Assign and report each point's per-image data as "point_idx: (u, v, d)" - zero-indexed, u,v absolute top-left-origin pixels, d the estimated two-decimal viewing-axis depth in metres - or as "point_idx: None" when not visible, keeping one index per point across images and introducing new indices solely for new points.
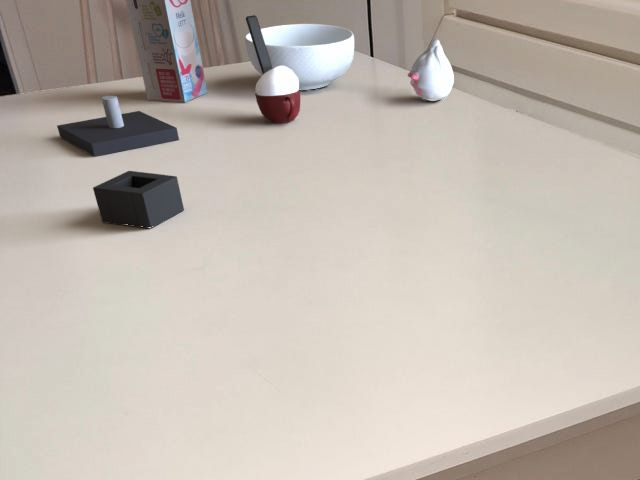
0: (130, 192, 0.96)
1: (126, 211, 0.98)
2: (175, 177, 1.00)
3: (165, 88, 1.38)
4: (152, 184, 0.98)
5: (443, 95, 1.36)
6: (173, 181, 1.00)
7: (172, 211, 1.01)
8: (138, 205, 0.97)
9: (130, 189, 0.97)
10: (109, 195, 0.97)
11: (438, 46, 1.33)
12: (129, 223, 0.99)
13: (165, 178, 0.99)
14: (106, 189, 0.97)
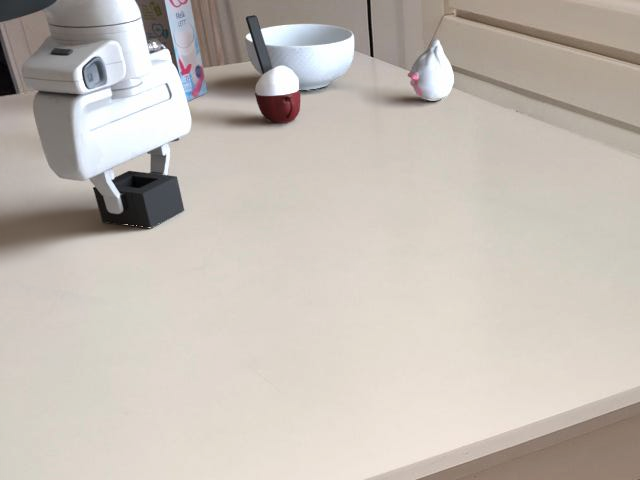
0: (130, 192, 0.96)
1: (127, 211, 0.98)
2: (175, 177, 1.00)
3: None
4: (152, 184, 0.98)
5: (443, 95, 1.36)
6: (173, 181, 1.00)
7: (172, 211, 1.01)
8: (138, 205, 0.97)
9: (130, 189, 0.97)
10: None
11: (438, 46, 1.33)
12: (129, 223, 0.99)
13: (165, 178, 0.99)
14: None
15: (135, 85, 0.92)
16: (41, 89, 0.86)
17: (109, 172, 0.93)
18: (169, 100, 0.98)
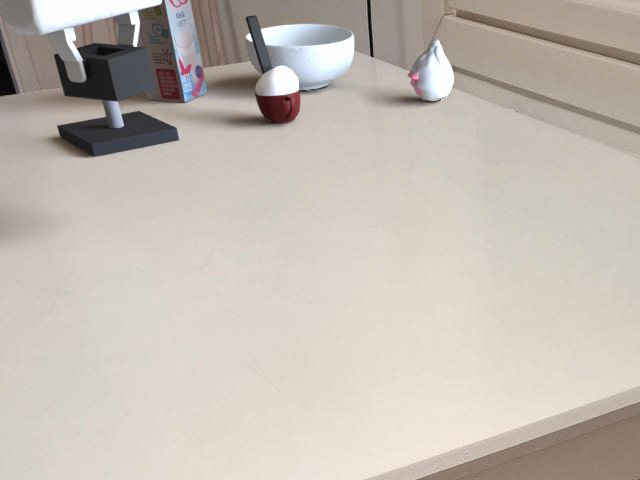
0: (94, 59, 0.88)
1: (91, 81, 0.89)
2: (145, 48, 0.92)
3: (165, 88, 1.38)
4: (119, 53, 0.90)
5: (443, 95, 1.36)
6: (142, 52, 0.91)
7: (141, 86, 0.92)
8: (103, 74, 0.88)
9: (94, 56, 0.88)
10: None
11: (438, 46, 1.33)
12: (93, 96, 0.90)
13: (134, 49, 0.91)
14: None
15: None
16: None
17: (70, 32, 0.85)
18: None
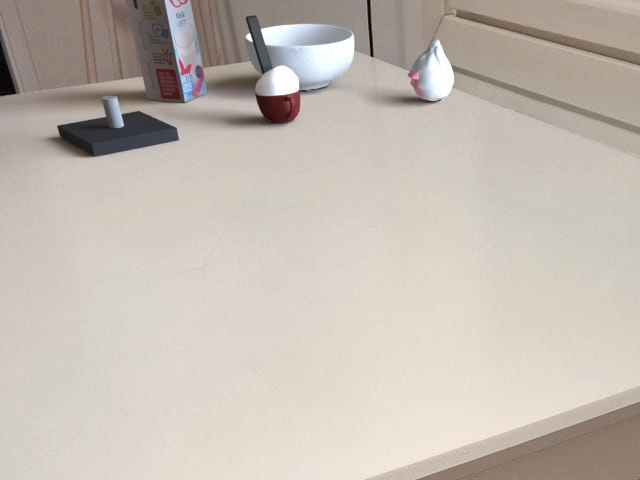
0: None
1: None
2: None
3: (165, 88, 1.38)
4: None
5: (443, 95, 1.36)
6: None
7: None
8: None
9: None
10: None
11: (438, 46, 1.33)
12: None
13: None
14: None
15: None
16: None
17: None
18: None
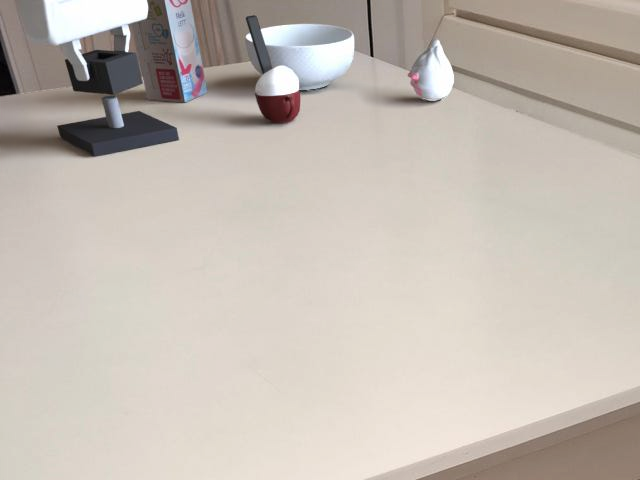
0: (95, 62, 1.15)
1: (93, 79, 1.17)
2: (134, 53, 1.19)
3: (165, 88, 1.38)
4: (114, 57, 1.17)
5: (443, 95, 1.36)
6: (132, 56, 1.19)
7: (132, 82, 1.20)
8: (102, 73, 1.16)
9: (95, 60, 1.16)
10: None
11: (438, 46, 1.33)
12: (95, 91, 1.18)
13: (126, 53, 1.18)
14: None
15: None
16: None
17: (76, 42, 1.13)
18: None
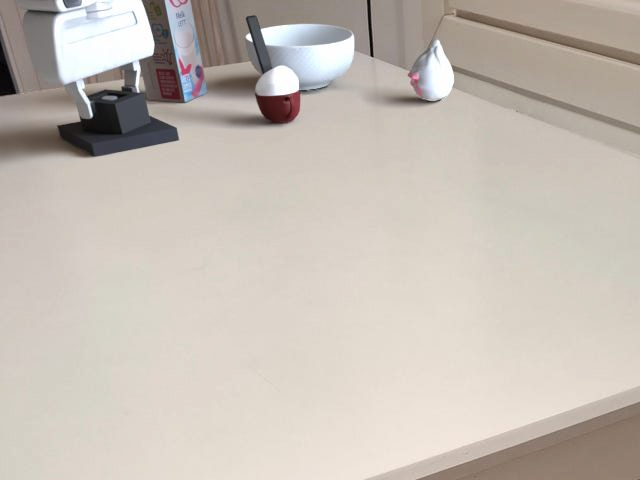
0: (105, 103, 1.18)
1: (102, 119, 1.20)
2: (143, 93, 1.22)
3: (165, 88, 1.38)
4: (123, 98, 1.20)
5: (443, 95, 1.36)
6: (141, 96, 1.22)
7: (140, 122, 1.23)
8: (112, 114, 1.19)
9: (105, 101, 1.19)
10: None
11: (438, 46, 1.33)
12: (105, 130, 1.21)
13: (134, 94, 1.22)
14: None
15: (105, 9, 1.13)
16: (29, 8, 1.08)
17: (80, 82, 1.15)
18: (135, 25, 1.20)
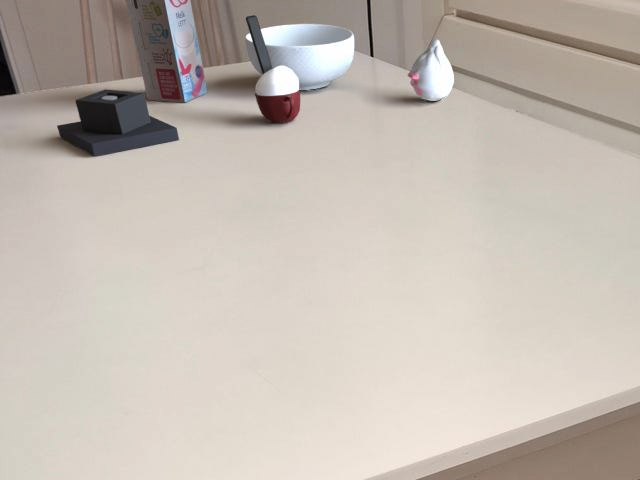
0: (105, 103, 1.18)
1: (102, 119, 1.20)
2: (143, 93, 1.22)
3: (165, 88, 1.38)
4: (123, 98, 1.20)
5: (443, 95, 1.36)
6: (141, 96, 1.22)
7: (140, 122, 1.23)
8: (112, 114, 1.19)
9: (105, 101, 1.19)
10: (88, 106, 1.19)
11: (438, 46, 1.33)
12: (105, 130, 1.21)
13: (134, 94, 1.22)
14: (86, 101, 1.19)
15: None
16: None
17: None
18: None
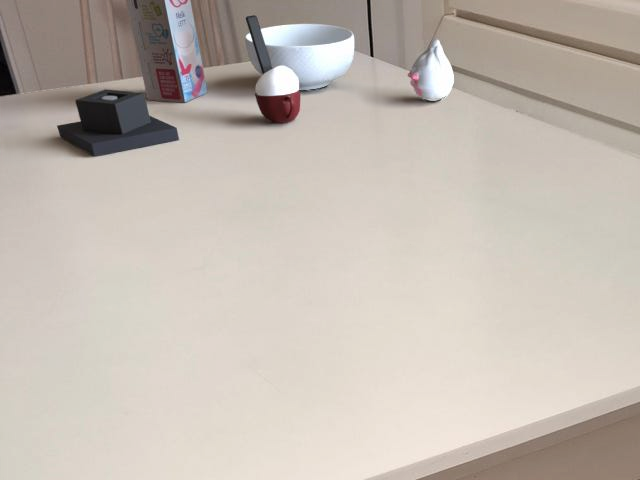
0: (105, 103, 1.18)
1: (102, 119, 1.20)
2: (143, 93, 1.22)
3: (165, 88, 1.38)
4: (123, 98, 1.20)
5: (443, 95, 1.36)
6: (141, 96, 1.22)
7: (140, 122, 1.23)
8: (112, 114, 1.19)
9: (105, 101, 1.19)
10: (88, 106, 1.19)
11: (438, 46, 1.33)
12: (105, 130, 1.21)
13: (134, 94, 1.22)
14: (86, 101, 1.19)
15: None
16: None
17: None
18: None
